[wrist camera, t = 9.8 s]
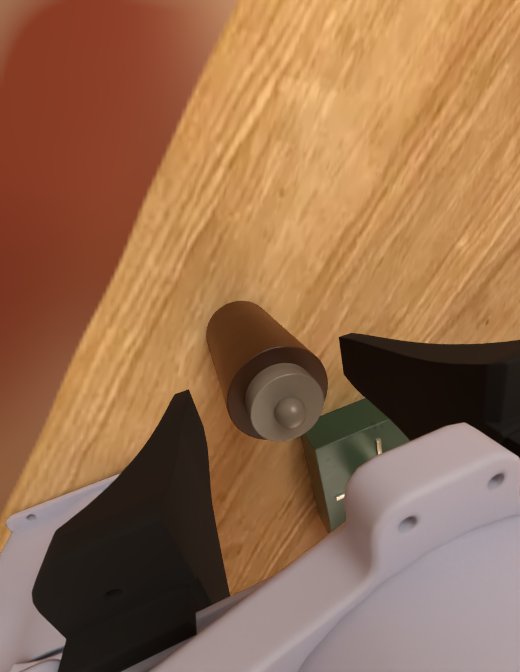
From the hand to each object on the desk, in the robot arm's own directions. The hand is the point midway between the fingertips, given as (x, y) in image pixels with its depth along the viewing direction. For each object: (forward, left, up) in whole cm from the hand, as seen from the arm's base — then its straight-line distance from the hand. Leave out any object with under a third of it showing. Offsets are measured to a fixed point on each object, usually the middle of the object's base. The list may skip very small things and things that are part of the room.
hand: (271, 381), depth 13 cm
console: (+7, -15, -7) cm, 18 cm away
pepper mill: (0, 0, -7) cm, 7 cm away
